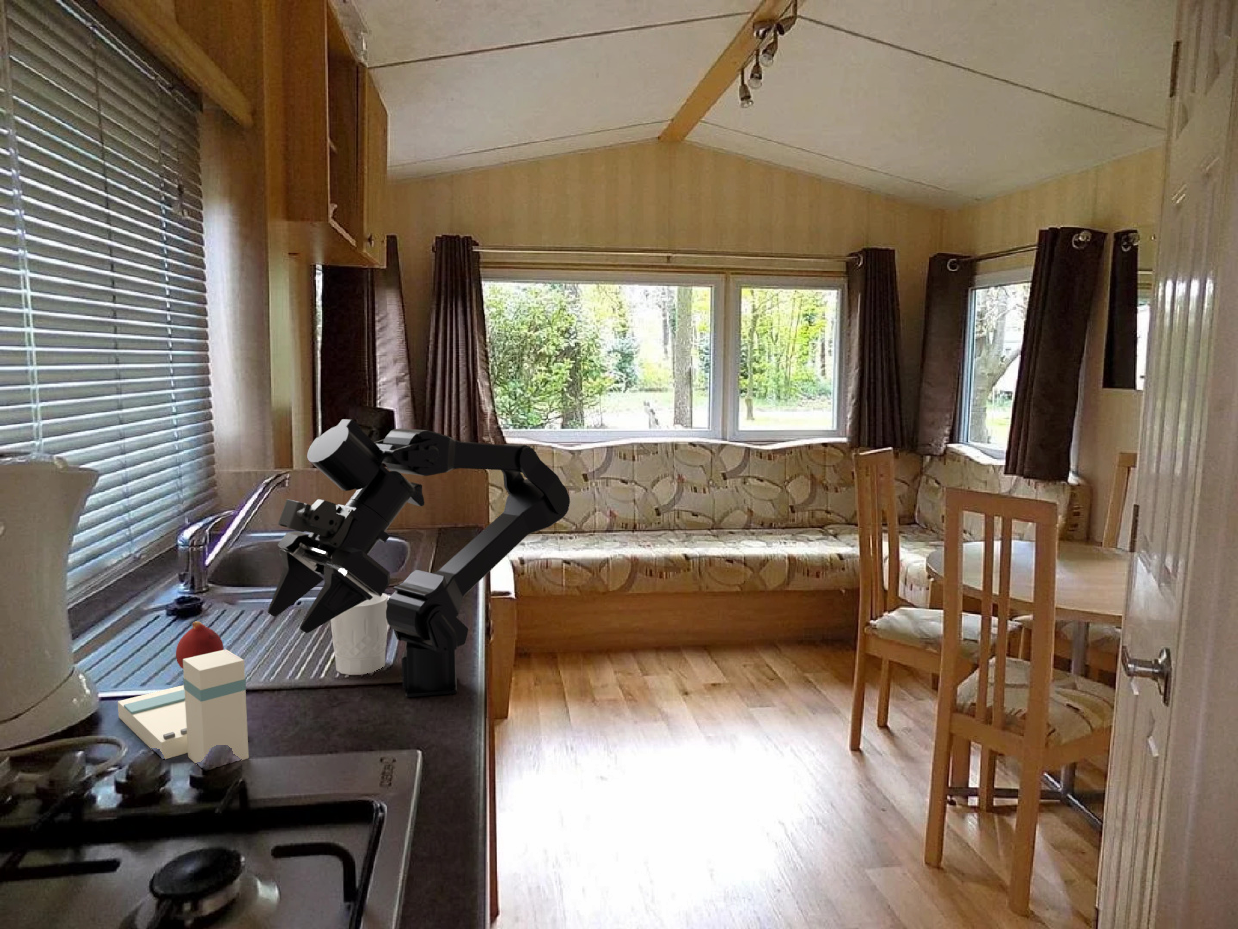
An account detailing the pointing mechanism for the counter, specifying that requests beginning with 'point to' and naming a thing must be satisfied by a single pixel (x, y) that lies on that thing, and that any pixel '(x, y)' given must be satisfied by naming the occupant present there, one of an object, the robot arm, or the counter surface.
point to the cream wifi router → (158, 720)
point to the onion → (198, 643)
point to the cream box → (215, 704)
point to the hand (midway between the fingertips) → (286, 622)
